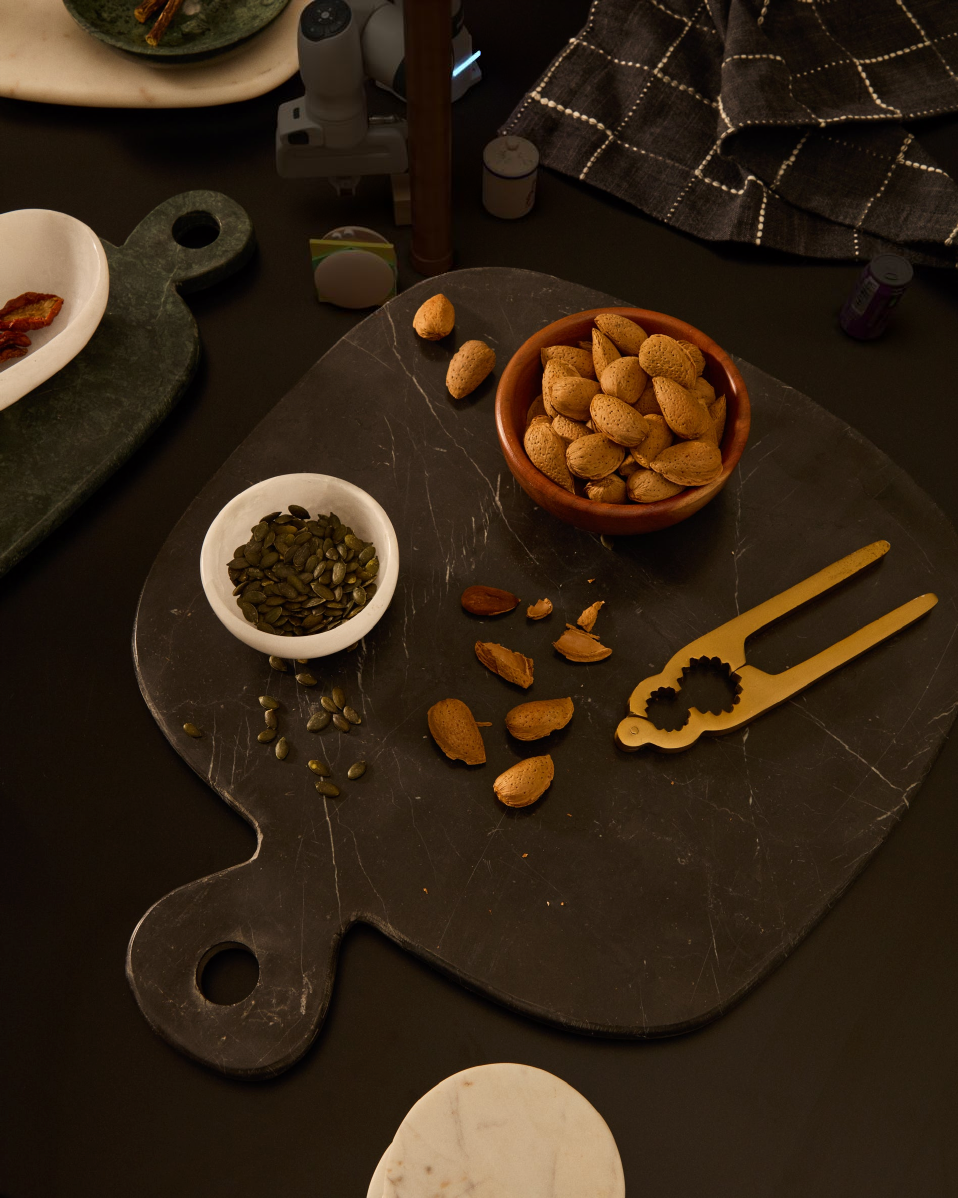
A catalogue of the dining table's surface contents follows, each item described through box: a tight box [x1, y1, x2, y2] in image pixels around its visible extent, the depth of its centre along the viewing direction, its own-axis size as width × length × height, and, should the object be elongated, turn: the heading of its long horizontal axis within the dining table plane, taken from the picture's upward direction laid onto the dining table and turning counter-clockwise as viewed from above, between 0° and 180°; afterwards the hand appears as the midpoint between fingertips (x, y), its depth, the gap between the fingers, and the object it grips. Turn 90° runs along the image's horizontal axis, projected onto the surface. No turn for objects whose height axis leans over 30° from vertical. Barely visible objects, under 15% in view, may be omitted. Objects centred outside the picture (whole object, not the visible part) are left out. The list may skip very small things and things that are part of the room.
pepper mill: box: [402, 0, 454, 277], centre depth 132 cm, size 7×7×50 cm
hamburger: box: [309, 225, 398, 310], centre depth 146 cm, size 12×8×12 cm
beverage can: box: [838, 252, 914, 341], centre depth 147 cm, size 7×7×12 cm
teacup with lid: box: [481, 135, 541, 220], centre depth 156 cm, size 12×9×12 cm
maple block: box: [389, 172, 412, 226], centre depth 157 cm, size 6×6×5 cm
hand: (346, 192), depth 156 cm, fingers closed
